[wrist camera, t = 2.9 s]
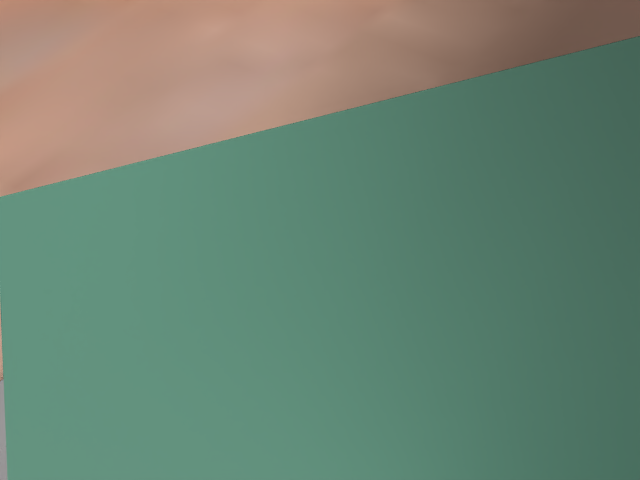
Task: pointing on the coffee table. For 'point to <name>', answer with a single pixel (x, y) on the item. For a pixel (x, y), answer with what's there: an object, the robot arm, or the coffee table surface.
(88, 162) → the coffee table surface
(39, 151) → the coffee table surface
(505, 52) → the coffee table surface
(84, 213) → the green block
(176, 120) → the coffee table surface
